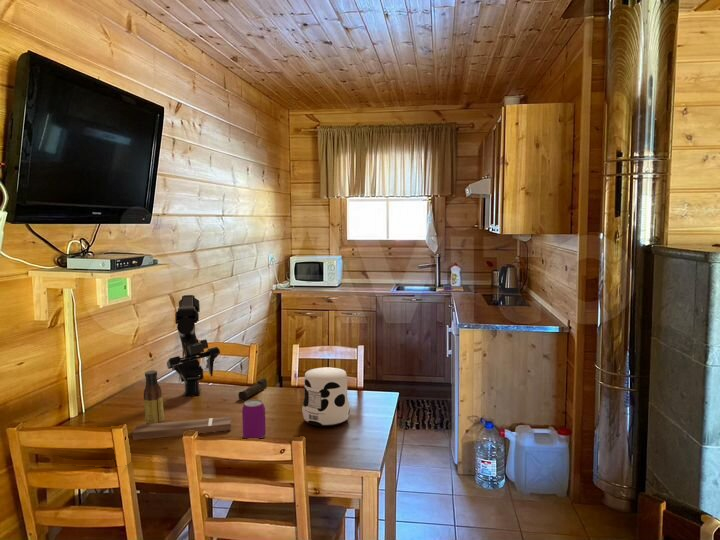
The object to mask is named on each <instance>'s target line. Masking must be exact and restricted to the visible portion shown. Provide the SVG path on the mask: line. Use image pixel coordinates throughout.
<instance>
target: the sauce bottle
mask: <svg viewBox="0 0 720 540" xmlns="http://www.w3.org/2000/svg"><path fill="white" fill-rule="evenodd" d="M144 377H145V386H144V387H145V388H144V390H143V405H144V406H143V407H144V419H145V423H146V424H153V423H165V412H164V404H163V403H164V401H163V400H164V399H163V395H162V394H163V393H162V392H163V391H162V388H161V386H160V384H159V383H158V371H157V370H148V371H145V372H144Z"/></svg>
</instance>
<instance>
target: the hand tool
mask: <svg viewBox="0 0 720 540" xmlns="http://www.w3.org/2000/svg"><path fill="white" fill-rule="evenodd" d="M267 388H268V380H267V378H261V379H259V380H257V382H256V384H254V385H252V386H250V387H248V388H246V389H244V390H242V391H239V392H238V399H239V400H240V401H243V400H244V401H247V400H248V399H249V398H251V396H254V395H255V394H257V393H259V392H263V391H265V390H266V389H267ZM264 389H265V390H264Z"/></svg>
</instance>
